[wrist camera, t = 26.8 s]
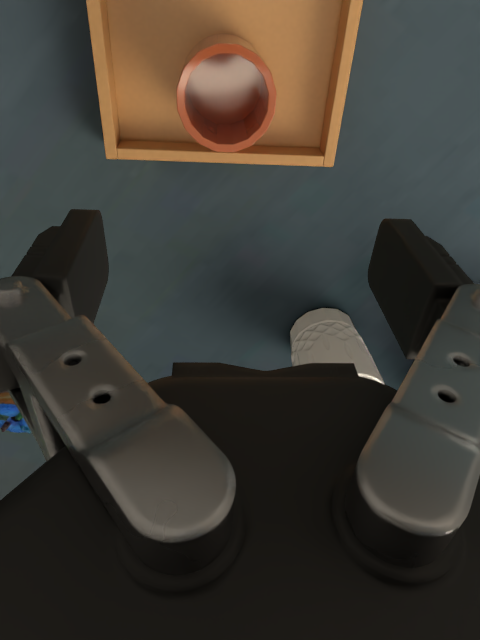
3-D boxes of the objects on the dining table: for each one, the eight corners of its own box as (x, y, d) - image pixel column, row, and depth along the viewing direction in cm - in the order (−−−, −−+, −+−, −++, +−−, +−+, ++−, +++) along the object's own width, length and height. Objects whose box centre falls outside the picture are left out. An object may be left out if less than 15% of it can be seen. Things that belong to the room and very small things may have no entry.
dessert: (-28, 408, 50) (-29, 429, 45) (5, 356, 51) (8, 371, 46) (40, 433, 54) (46, 454, 49) (69, 385, 55) (79, 401, 50)
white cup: (329, 288, 44) (356, 358, 36) (373, 332, 47) (406, 404, 39) (268, 333, 47) (280, 407, 39) (314, 371, 50) (333, 445, 42)
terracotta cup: (182, 126, 33) (178, 150, 29) (179, 30, 29) (174, 40, 25) (263, 130, 33) (271, 154, 29) (270, 35, 30) (281, 46, 25)
